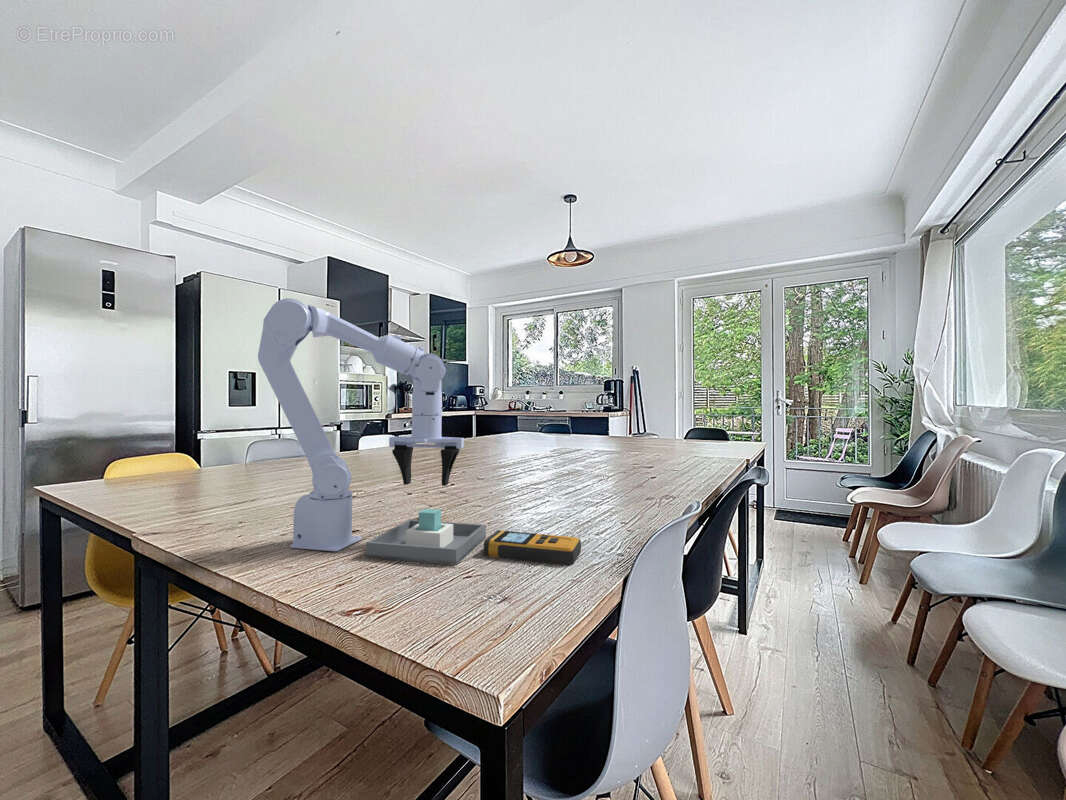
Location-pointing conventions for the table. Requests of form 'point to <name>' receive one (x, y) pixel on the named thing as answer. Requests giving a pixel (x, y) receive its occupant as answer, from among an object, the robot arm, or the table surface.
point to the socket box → (427, 543)
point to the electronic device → (533, 547)
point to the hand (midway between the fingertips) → (426, 484)
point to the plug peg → (430, 520)
